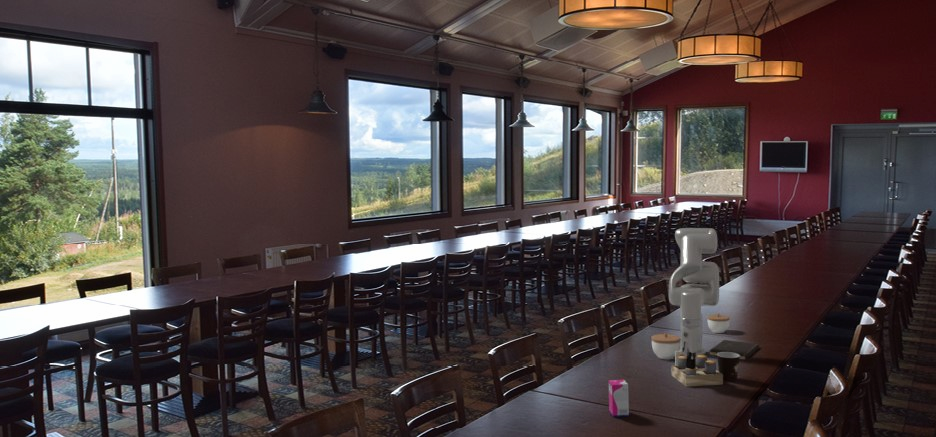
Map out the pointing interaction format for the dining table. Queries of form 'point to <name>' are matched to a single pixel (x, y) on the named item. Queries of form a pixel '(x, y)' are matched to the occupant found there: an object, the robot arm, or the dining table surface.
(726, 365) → the coffee mug
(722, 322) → the lidded jar
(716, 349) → the hardcover book
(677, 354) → the card
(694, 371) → the button
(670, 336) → the lidded bowl
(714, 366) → the button
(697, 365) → the button
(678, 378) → the button board
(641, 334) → the dining table surface
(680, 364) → the button
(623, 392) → the supplement box
